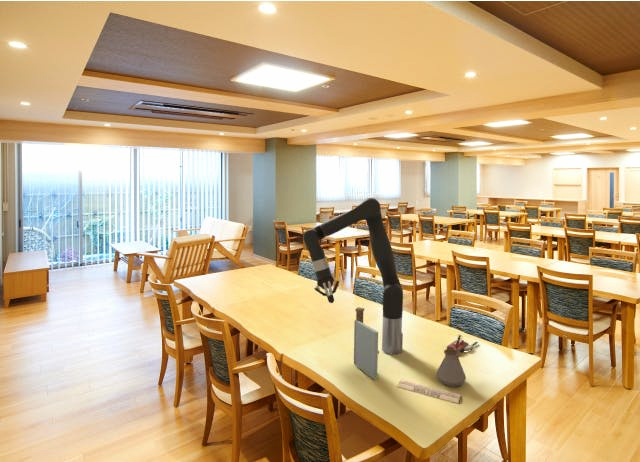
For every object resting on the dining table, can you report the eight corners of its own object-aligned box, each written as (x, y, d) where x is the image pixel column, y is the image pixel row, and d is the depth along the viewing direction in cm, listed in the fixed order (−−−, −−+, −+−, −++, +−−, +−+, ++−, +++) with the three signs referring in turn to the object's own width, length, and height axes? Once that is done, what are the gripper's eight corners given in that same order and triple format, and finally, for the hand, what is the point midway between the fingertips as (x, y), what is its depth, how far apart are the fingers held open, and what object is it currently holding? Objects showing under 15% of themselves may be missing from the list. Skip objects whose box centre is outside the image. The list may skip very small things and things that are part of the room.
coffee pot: (462, 392, 153) (464, 355, 151) (432, 384, 158) (434, 349, 157) (472, 369, 171) (474, 337, 169) (445, 363, 177) (447, 331, 175)
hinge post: (357, 359, 180) (358, 307, 177) (363, 361, 178) (364, 308, 175) (354, 362, 177) (355, 309, 174) (360, 363, 176) (361, 310, 173)
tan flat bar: (461, 398, 150) (461, 393, 150) (457, 407, 144) (457, 402, 143) (401, 382, 161) (401, 378, 161) (395, 390, 155) (396, 385, 155)
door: (353, 363, 175) (353, 320, 172) (359, 361, 177) (360, 319, 174) (373, 379, 161) (374, 332, 159) (380, 377, 163) (381, 331, 160)
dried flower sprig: (462, 358, 183) (479, 345, 197) (462, 349, 182) (479, 337, 196) (444, 352, 188) (462, 340, 203) (444, 343, 188) (462, 332, 202)
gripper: (309, 273, 185) (320, 308, 185) (335, 264, 187) (346, 299, 187) (307, 272, 192) (318, 305, 192) (333, 264, 194) (343, 297, 194)
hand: (332, 302), depth 189 cm, fingers closed
